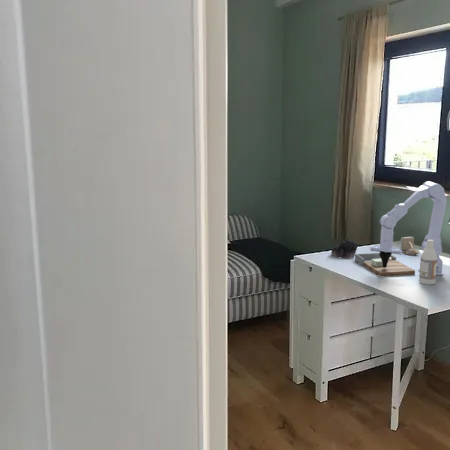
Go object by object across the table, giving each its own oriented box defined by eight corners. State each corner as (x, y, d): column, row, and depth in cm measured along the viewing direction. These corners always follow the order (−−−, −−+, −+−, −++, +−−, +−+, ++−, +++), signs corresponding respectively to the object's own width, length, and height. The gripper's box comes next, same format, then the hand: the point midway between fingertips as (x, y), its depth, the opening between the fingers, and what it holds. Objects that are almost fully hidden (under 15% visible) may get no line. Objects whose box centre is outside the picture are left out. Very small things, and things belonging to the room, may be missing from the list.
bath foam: (432, 286, 230) (436, 242, 226) (417, 283, 234) (420, 240, 230) (436, 282, 236) (440, 239, 231) (421, 279, 240) (424, 237, 235)
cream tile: (391, 263, 264) (391, 258, 263) (381, 263, 264) (381, 258, 264) (389, 260, 268) (390, 256, 268) (379, 260, 269) (380, 255, 269)
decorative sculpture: (418, 256, 279) (419, 243, 277) (400, 255, 280) (401, 242, 278) (412, 248, 294) (413, 236, 293) (395, 248, 296) (396, 235, 294)
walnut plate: (414, 274, 247) (415, 270, 246) (380, 276, 243) (380, 272, 243) (396, 263, 264) (396, 260, 264) (363, 265, 261) (363, 262, 260)
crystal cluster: (326, 255, 283) (326, 238, 279) (343, 250, 290) (344, 233, 286) (344, 263, 272) (344, 245, 269) (361, 257, 279) (362, 240, 276)
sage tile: (385, 266, 253) (385, 261, 253) (375, 266, 253) (376, 261, 252) (380, 263, 258) (380, 258, 258) (371, 263, 257) (371, 259, 257)
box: (395, 263, 264) (396, 257, 263) (363, 265, 261) (363, 259, 260) (386, 258, 274) (387, 252, 273) (354, 260, 270) (355, 254, 270)
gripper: (403, 239, 246) (401, 266, 249) (373, 236, 253) (371, 262, 256) (401, 242, 240) (399, 270, 243) (369, 239, 247) (368, 266, 250)
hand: (384, 267), depth 249 cm, fingers closed
